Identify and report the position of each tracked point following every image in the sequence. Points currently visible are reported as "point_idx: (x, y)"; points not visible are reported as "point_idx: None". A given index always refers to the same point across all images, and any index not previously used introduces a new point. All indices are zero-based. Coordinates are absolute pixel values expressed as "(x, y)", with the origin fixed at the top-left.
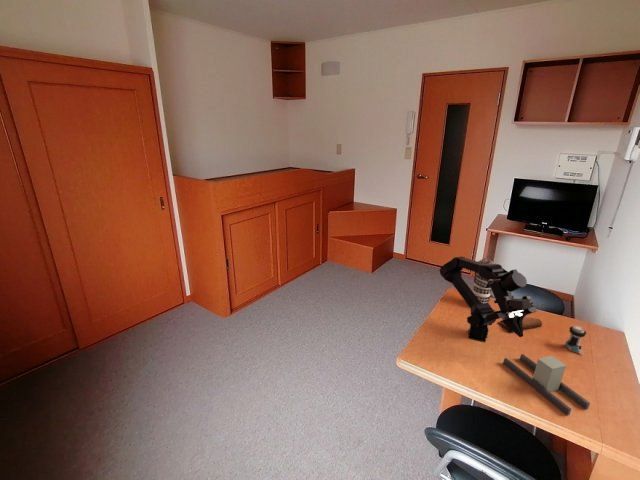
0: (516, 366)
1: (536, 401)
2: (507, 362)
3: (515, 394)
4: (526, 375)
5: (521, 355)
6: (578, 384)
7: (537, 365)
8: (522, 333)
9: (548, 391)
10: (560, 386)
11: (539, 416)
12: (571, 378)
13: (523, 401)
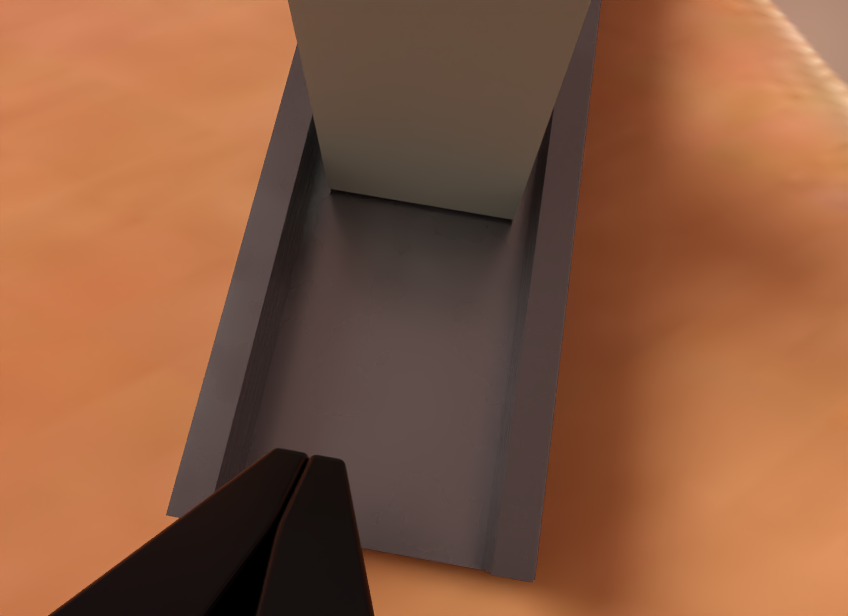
0: (528, 388)
1: (646, 109)
2: (534, 516)
3: (759, 235)
4: (565, 235)
5: None
6: (59, 49)
7: (567, 56)
8: (248, 489)
9: None
10: None
11: (772, 23)
12: (16, 113)
13: (760, 157)
